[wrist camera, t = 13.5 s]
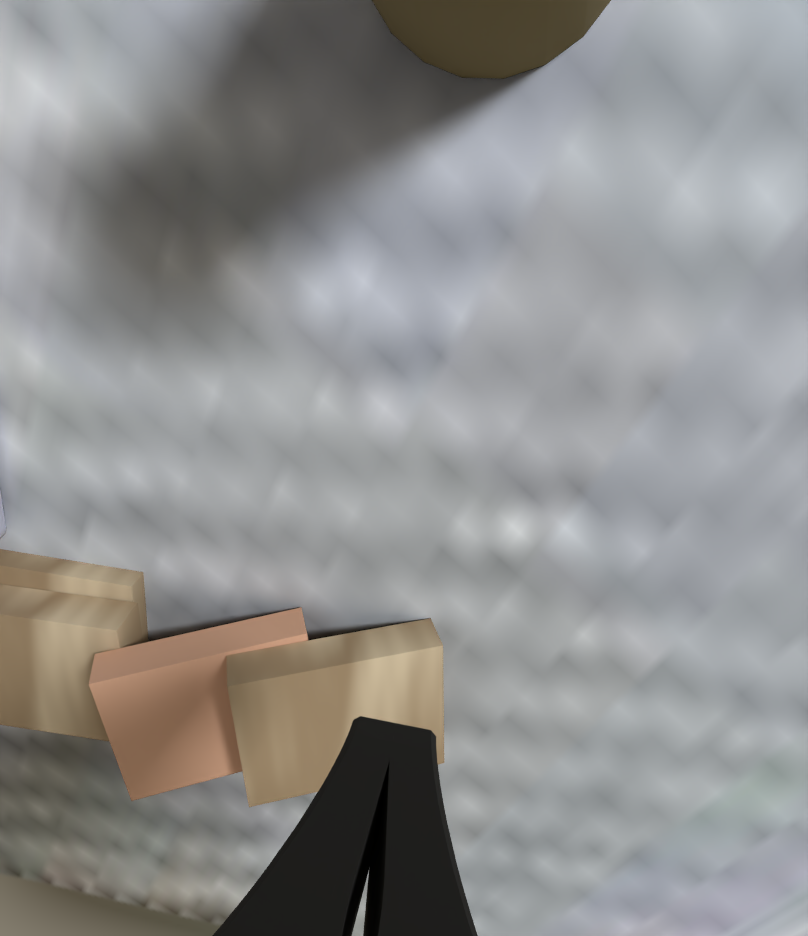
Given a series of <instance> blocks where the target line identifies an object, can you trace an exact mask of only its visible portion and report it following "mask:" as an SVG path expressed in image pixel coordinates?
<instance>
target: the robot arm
mask: <svg viewBox="0 0 808 936" xmlns="http://www.w3.org/2000/svg"><path fill="white" fill-rule="evenodd" d="M5 532H6V524H5V518H4V511H3V505H2V498H1V492H0V538H1V537H2V536H3V535H4V534H5ZM368 871H369V878H368V889H367V900H366V911H365V922H364V934H363V936H477V932H476V929H475V926H474V923H473V920H472V917H471V913H470V910H469V906H468V903H467V900H466V896H465V893H464V889H463V886H462V882H461V878H460V875H459V871H458V867H457V863H456V859H455V855H454V851H453V846H452V842H451V838H450V833H449V829H448V825H447V820H446V815H445V810H444V804H443V798H442V793H441V787H440V780H439V772H438V763H437V750H436V736H435V734H434V733H433V732H432V731H431V730H428V729H423V728H418V727H413V726H408V725H403V724H398V723H393V722H388V721H383V720H378V719H373V718H368V717H363V716H360V717H358V718H356V719H354V720H353V722H352V725H351V728H350V731H349V733H348V736H347V738H346V740H345V742H344V745H343V747H342V749H341V751H340V753H339V755H338V757H337V759H336V761H335V763H334V765H333V766H332V768H331V770H330V772H329V774H328V776H327V777H326V779H325V781H324V783H323V784H322V786H321V788H320V789H319V791H318V793H317V794H316V796H315V797H314V799H313V801H312V802H311V804H310V805H309V807H308V809H307V810H306V812H305V814H304V815H303V817H302V818H301V820H300V821H299V823H298V824H297V826H296V827H295V829H294V830H293V832H292V833H291V835H290V836H289V837H288V839H287V840H286V842H285V843H284V845H283V846H282V847H281V849H280V850H279V852H278V853H277V855H276V856H275V857H274V859H273V860H272V862H271V863H270V864H269V866H268V867H267V869H266V870H265V871H264V873H263V874H262V875H261V877H260V878H259V879H258V880H257V882H256V883H255V884H254V886H253V887H252V888H251V890H250V891H249V892H248V893H247V895H246V896H245V897H244V899H243V900H242V901H241V902H240V903H239V905H238V906H237V907H236V908H235V910H234V911H233V912H232V913H231V914H230V916H229V917H228V918H227V919H226V921H225V922H224V923H223V924H222V925H221V927H220V928H219V929H218V930H217V931H216V932H215V933H214V935H213V936H351V935H352V932H353V928H354V924H355V920H356V916H357V913H358V909H359V905H360V901H361V897H362V894H363V890H364V886H365V882H366V878H367V874H368Z"/></svg>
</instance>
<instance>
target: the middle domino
mask: <svg viewBox="0 0 808 936" xmlns="http://www.w3.org/2000/svg"><path fill="white" fill-rule="evenodd" d="M141 643H143V636H142V628H141V621H140V614H139V607H138V603H135V602H128V601H121V600H113V599H106V598H98V597H91V596H83V595H76V594H69V593H61V592H54V591H46V590H39V589H32V588H24V587H17V586H9V585H2V584H0V725H6V726H13V727H19V728H26V729H32V730H39V731H45V732H52V733H58V734H65V735H71V736H78V737H84V738H91V739H97V740H104V741H109V738H108V736H107V733H106V730H105V727H104V725H103V722H102V719H101V717H100V714H99V711H98V709H97V706H96V703H95V700H94V698H93V695H92V692H91V690H90V687H89V680H90V675H91V670H92V665H93V660H94V655H95V654H97V653H101V652H106V651H110V650H115V649H119V648H124V647H128V646H132V645H137V644H141Z"/></svg>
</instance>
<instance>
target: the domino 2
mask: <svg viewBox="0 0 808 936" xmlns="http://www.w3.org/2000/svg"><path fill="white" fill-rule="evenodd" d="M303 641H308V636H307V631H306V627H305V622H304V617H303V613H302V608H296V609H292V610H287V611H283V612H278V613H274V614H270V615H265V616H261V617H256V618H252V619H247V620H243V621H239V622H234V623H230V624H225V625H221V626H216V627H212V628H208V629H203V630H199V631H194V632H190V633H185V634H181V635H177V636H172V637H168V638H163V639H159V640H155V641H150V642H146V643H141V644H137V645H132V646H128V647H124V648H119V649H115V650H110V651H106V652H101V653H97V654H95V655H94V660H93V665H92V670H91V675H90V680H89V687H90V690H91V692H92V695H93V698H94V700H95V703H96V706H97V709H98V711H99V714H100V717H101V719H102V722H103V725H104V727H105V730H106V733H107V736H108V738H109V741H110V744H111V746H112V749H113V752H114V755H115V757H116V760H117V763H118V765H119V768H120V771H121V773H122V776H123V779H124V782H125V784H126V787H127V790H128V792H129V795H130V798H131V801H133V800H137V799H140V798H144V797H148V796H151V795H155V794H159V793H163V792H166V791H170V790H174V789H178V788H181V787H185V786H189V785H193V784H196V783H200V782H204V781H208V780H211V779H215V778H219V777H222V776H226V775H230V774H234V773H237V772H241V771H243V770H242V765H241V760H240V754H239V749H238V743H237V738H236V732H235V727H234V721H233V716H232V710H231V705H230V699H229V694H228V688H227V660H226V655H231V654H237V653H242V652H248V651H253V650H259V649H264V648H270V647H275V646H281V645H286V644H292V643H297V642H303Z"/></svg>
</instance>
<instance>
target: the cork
mask: <svg viewBox="0 0 808 936" xmlns="http://www.w3.org/2000/svg"><path fill="white" fill-rule="evenodd" d="M372 1H373V3H374V5H375V6H376V8H377V10H378V11H379V13H380V15H381V16H382V18H383V20H384V21H385V23H386V25H387V27H388V28H389V30H390V32H391V33H392V34H393V35H394V36H395V37H396V38H398V39H399V40H400V41H401V42H402V43H403V44H404V45H405V46H407V47H408V48H409V49H410V50H411V51H412V52H413V53H414V54H415V55H417V56H418V57H419V58H420V59H421V60H422V61H423V62H425V63H428V64H430V65H433V66H435V67H438V68H440V69H442V70H445V71H447V72H450V73H452V74H455V75H457V76H460V77H462V78H501V79H504V78H507V77H510V76H513V75H516V74H519V73H522V72H525V71H528V70H531V69H534V68H537V67H540V66H543V65H546V64H547V63H548V62H550V61H551V60H552V59H554V58H555V57H556V56H558V55H559V54H560V53H562V52H563V51H564V50H566V49H567V48H569V47H570V46H571V45H573V44H574V43H575V42H577V41H578V40H579V39H581V38H582V37H583V36H584V35H585V34H586V32H587V31H588V30H589V28H590V27H591V26H592V25H593V23H594V22H595V21H596V19H597V18H598V17H599V15H600V14H601V13H602V11H603V10H604V9H605V7H606V6H607V5H608V4H609V2H610V1H611V0H372Z"/></svg>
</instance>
